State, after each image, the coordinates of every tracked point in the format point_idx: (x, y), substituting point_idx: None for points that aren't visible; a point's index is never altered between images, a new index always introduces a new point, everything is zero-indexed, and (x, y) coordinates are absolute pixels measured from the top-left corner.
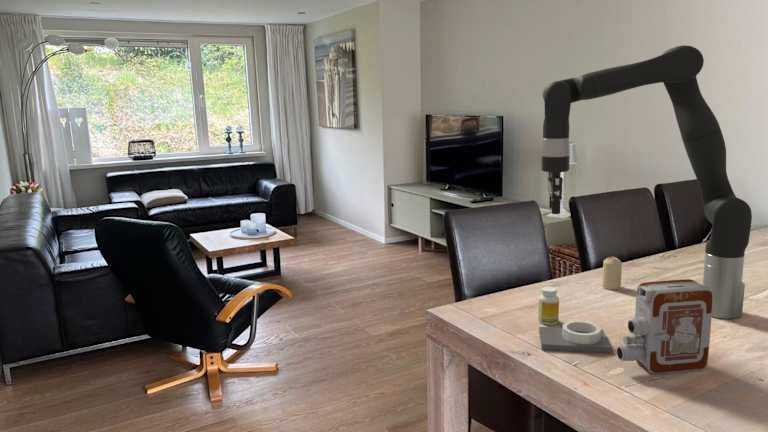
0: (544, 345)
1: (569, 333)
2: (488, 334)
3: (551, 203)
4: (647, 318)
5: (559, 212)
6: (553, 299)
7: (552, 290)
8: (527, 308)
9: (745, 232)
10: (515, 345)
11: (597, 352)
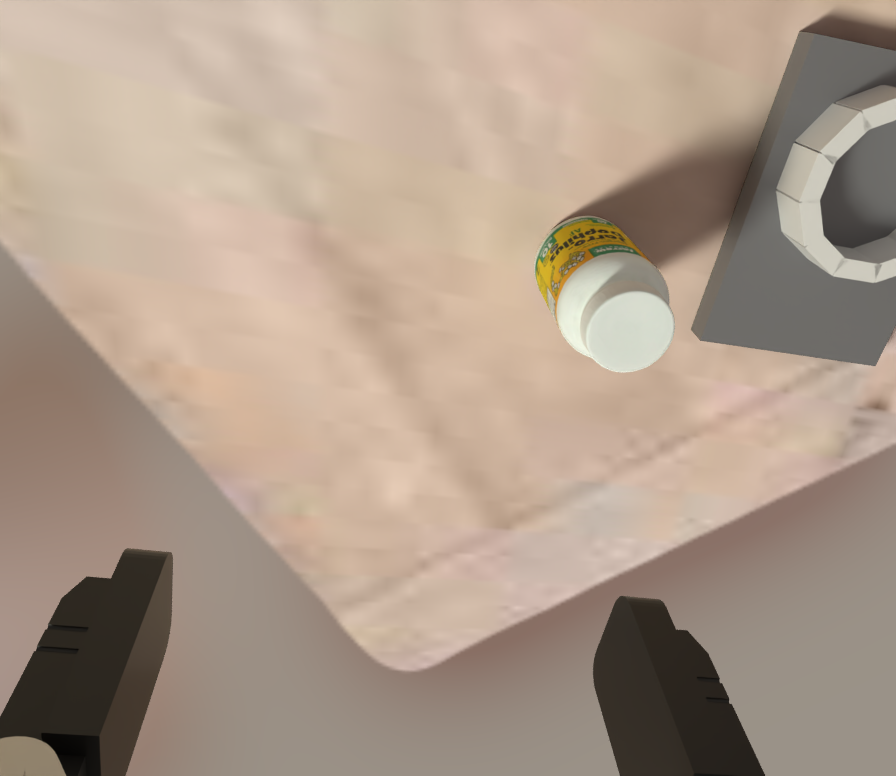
0: (877, 354)
1: None
2: (667, 514)
3: (146, 679)
4: None
5: (662, 612)
6: (666, 299)
7: (660, 320)
8: (392, 323)
9: None
10: (791, 438)
11: None
